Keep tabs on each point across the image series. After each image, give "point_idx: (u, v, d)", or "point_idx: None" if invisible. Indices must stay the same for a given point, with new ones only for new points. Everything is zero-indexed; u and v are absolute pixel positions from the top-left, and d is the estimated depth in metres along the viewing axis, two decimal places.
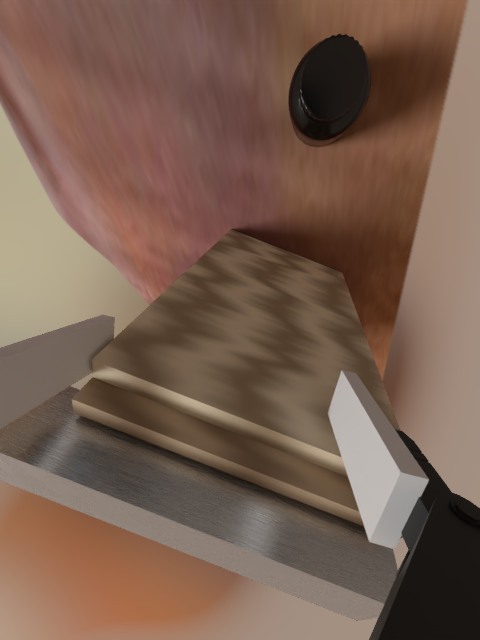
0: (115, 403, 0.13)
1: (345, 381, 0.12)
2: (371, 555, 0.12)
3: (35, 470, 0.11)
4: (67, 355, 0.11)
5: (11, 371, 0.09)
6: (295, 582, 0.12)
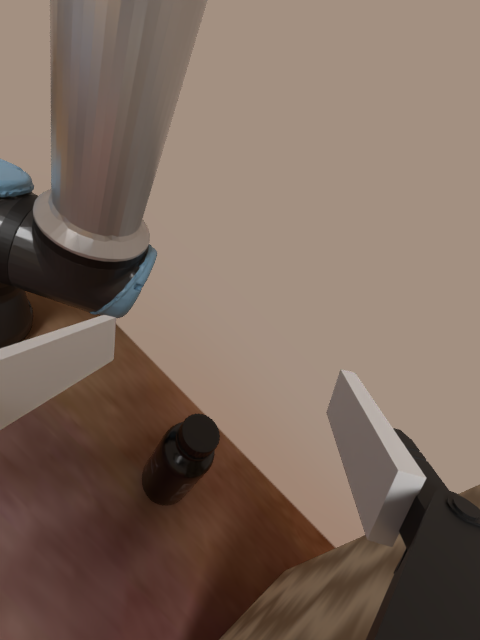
0: None
1: (344, 380, 0.12)
2: None
3: None
4: (69, 355, 0.11)
5: (13, 371, 0.09)
6: None
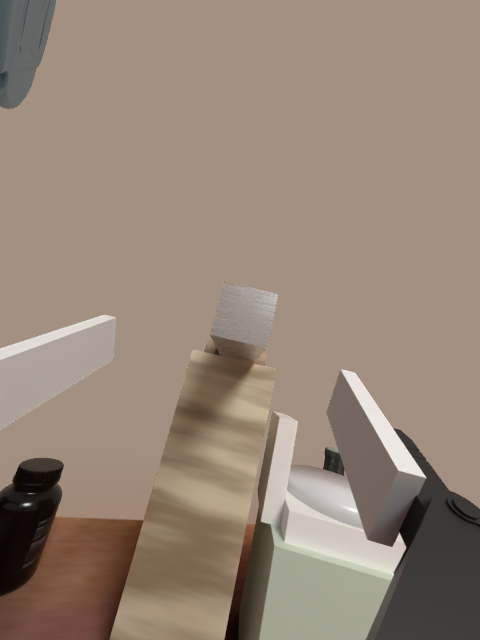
0: None
1: (344, 380, 0.12)
2: None
3: None
4: (69, 355, 0.11)
5: (13, 371, 0.09)
6: None
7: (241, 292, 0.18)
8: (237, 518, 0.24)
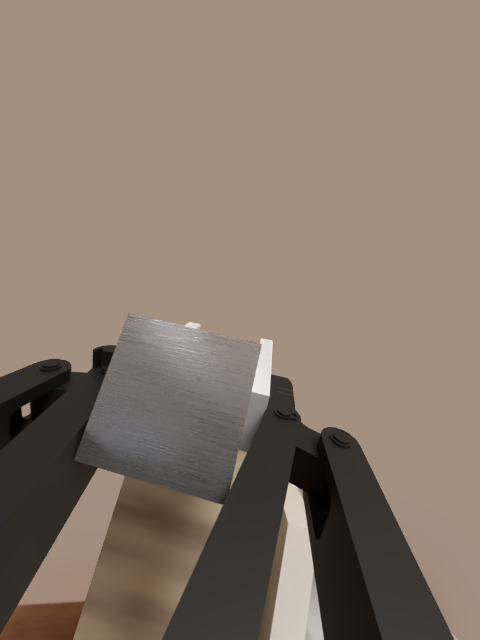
0: None
1: None
2: None
3: None
4: None
5: None
6: None
7: (168, 339, 0.07)
8: None
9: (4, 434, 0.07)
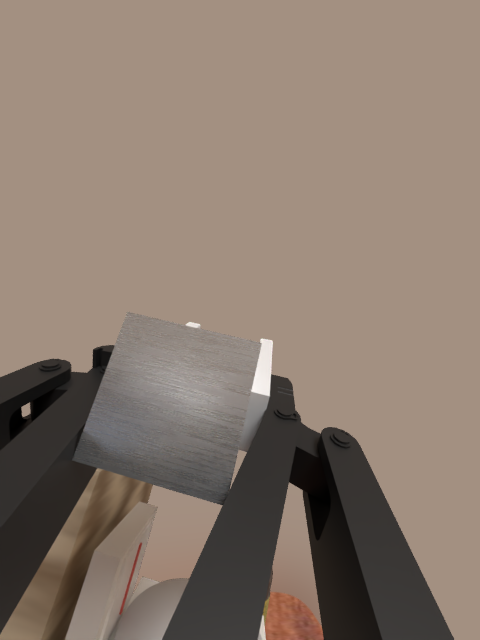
0: None
1: None
2: None
3: None
4: None
5: None
6: None
7: (167, 338, 0.07)
8: None
9: (4, 435, 0.07)
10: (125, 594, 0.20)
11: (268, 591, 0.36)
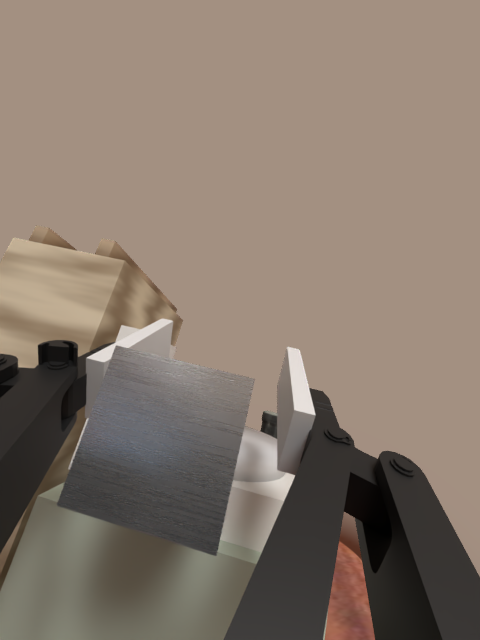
0: None
1: (287, 355, 0.14)
2: None
3: None
4: None
5: None
6: None
7: (157, 374, 0.07)
8: None
9: None
10: None
11: None
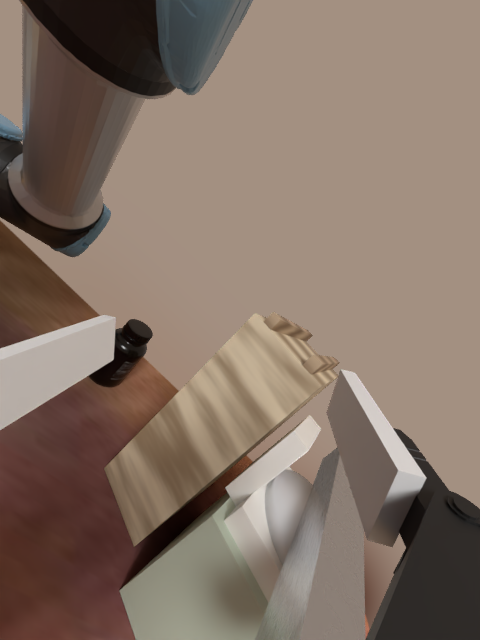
0: None
1: (344, 380, 0.12)
2: (333, 452, 0.38)
3: (333, 510, 0.22)
4: (69, 355, 0.11)
5: (13, 371, 0.09)
6: None
7: None
8: (209, 469, 0.27)
9: None
10: None
11: None
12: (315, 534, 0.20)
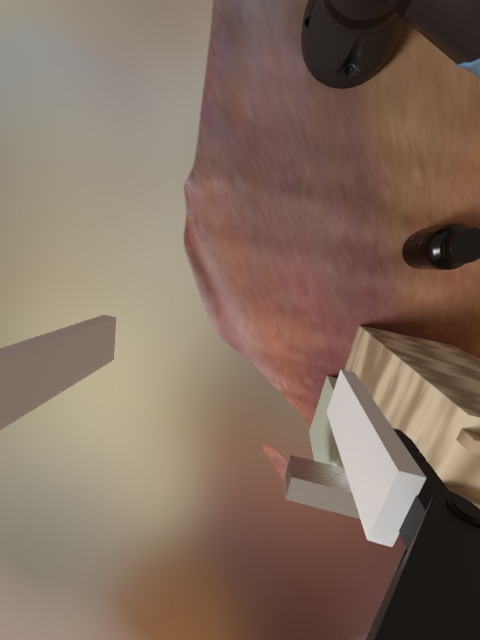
0: None
1: (344, 380, 0.12)
2: None
3: None
4: (69, 355, 0.11)
5: (13, 371, 0.09)
6: None
7: (289, 482, 0.35)
8: None
9: None
10: None
11: None
12: None
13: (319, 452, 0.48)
